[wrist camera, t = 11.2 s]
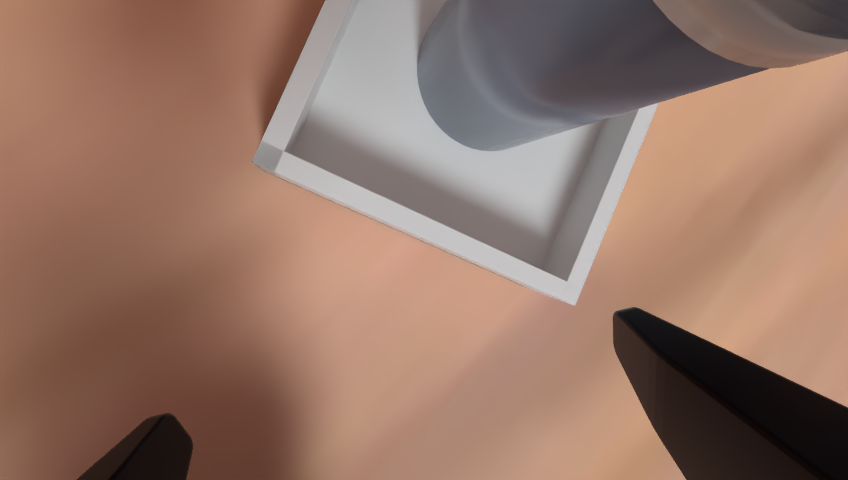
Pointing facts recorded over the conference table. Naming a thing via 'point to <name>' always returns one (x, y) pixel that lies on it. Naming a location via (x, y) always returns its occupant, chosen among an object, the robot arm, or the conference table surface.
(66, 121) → the conference table surface
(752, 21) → the canister
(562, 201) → the tray
